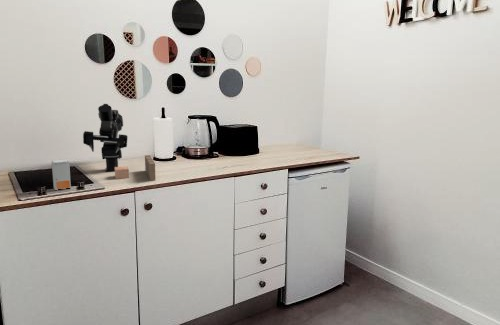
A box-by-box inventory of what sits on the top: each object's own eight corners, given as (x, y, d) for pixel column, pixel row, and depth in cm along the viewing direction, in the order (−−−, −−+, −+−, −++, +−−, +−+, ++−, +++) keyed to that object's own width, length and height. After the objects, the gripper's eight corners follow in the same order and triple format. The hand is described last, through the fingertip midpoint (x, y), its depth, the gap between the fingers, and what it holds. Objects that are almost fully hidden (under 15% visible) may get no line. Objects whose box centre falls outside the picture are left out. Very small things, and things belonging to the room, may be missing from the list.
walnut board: (145, 170, 187) (144, 155, 185) (150, 170, 188) (149, 155, 186) (149, 180, 168) (149, 163, 166) (155, 180, 168) (154, 163, 167)
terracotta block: (115, 176, 175) (114, 167, 174) (128, 175, 177) (127, 166, 176) (115, 179, 170) (115, 169, 169) (129, 178, 172) (128, 169, 171)
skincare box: (55, 191, 149) (52, 162, 146) (53, 188, 152) (51, 160, 149) (71, 188, 152) (69, 160, 150) (69, 186, 155) (67, 159, 153)
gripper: (85, 113, 163) (80, 136, 153) (128, 118, 170) (127, 140, 159) (85, 132, 171) (81, 155, 160) (127, 136, 177) (125, 158, 166)
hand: (104, 151), depth 161 cm, fingers open, 9 cm apart
